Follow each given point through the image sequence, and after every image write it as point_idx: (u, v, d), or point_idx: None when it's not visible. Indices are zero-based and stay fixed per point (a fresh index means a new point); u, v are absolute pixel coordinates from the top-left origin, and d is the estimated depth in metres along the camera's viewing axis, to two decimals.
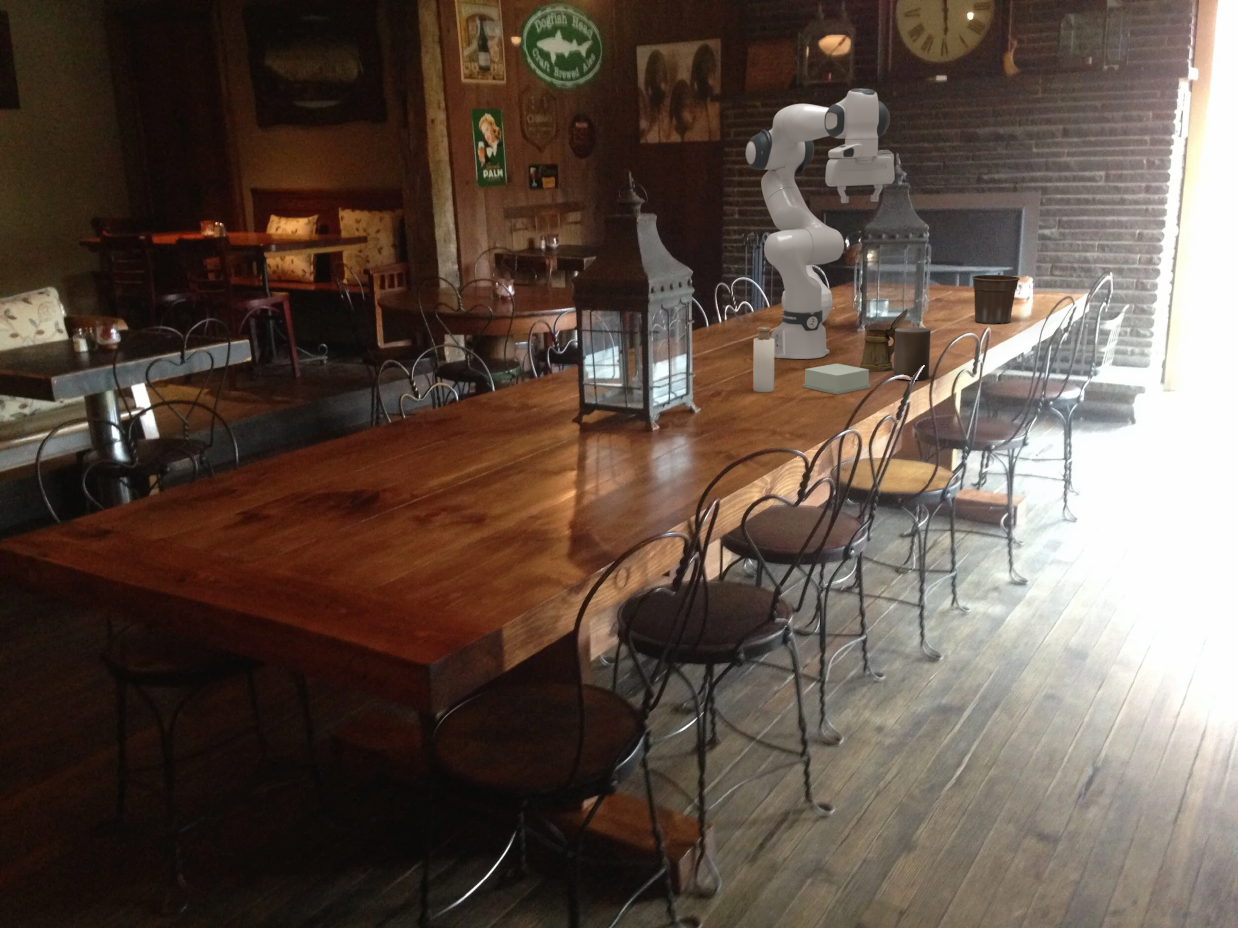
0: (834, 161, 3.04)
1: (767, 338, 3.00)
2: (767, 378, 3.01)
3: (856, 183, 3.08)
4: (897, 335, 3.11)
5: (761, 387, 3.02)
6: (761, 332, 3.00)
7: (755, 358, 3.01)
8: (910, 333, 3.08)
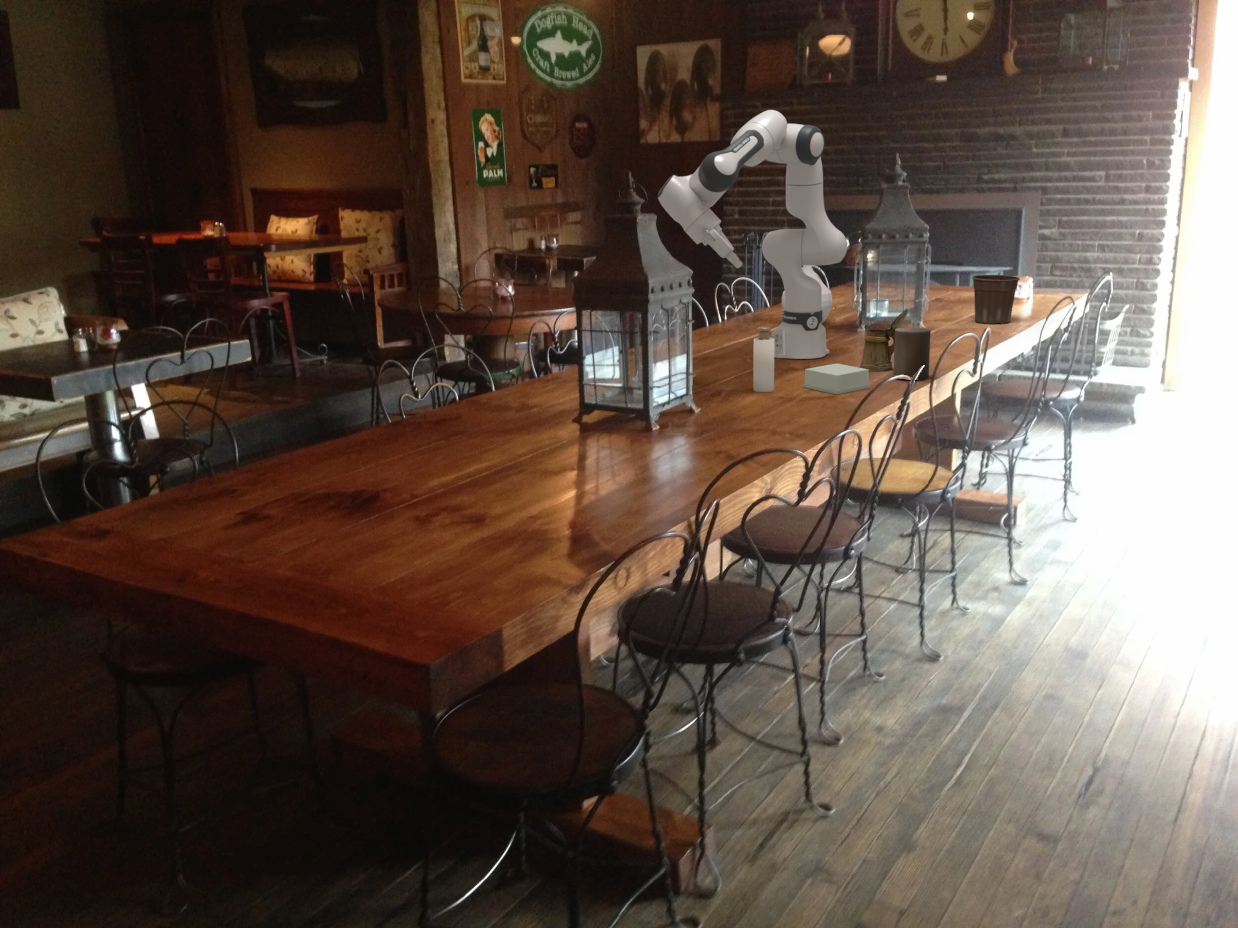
0: None
1: (767, 338, 3.00)
2: (767, 378, 3.01)
3: None
4: (897, 335, 3.11)
5: (761, 387, 3.02)
6: (761, 332, 3.00)
7: (755, 358, 3.01)
8: (910, 333, 3.08)
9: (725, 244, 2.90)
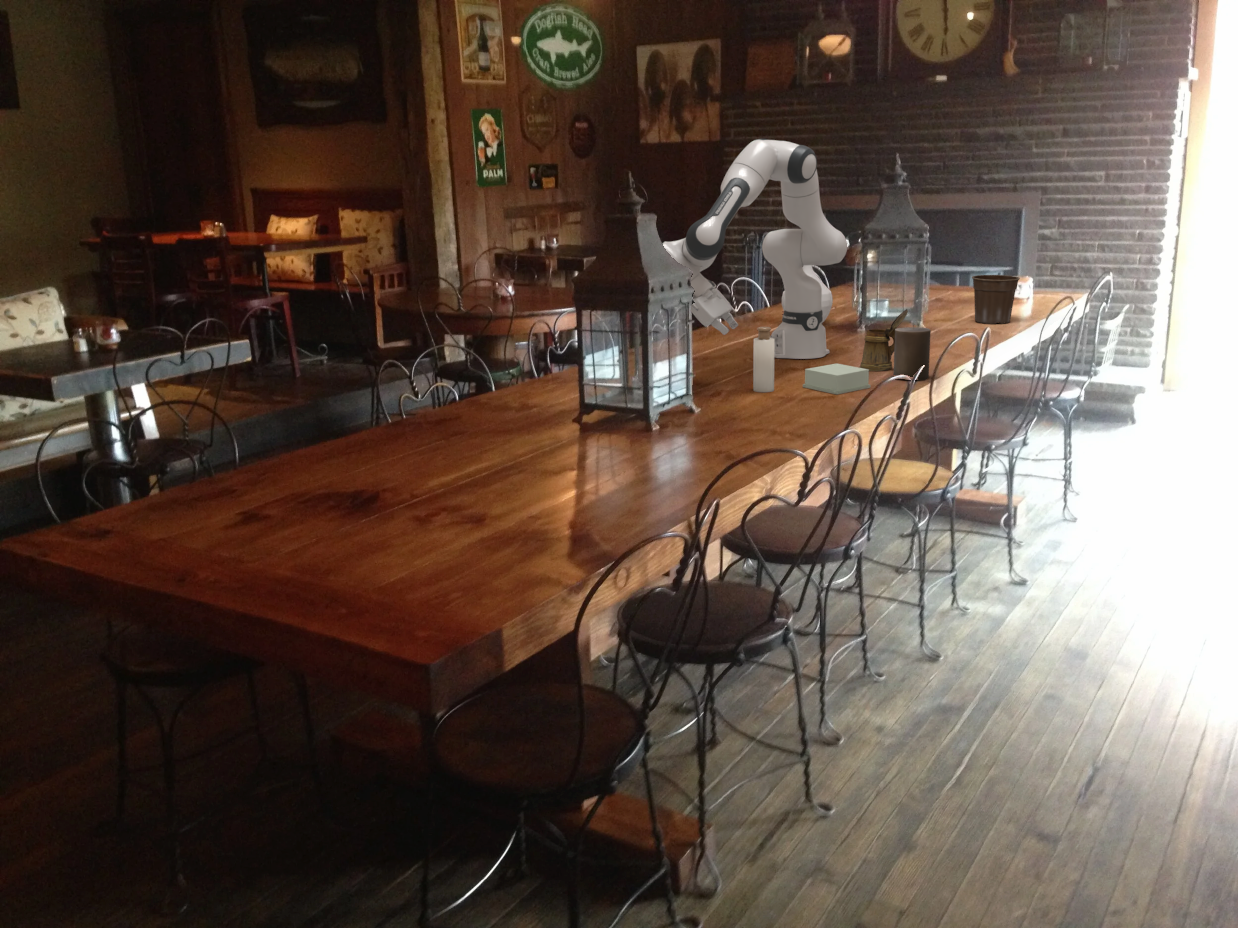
0: None
1: (767, 338, 3.00)
2: (767, 378, 3.01)
3: None
4: (897, 335, 3.11)
5: (761, 387, 3.02)
6: (761, 332, 3.00)
7: (755, 358, 3.01)
8: (910, 333, 3.08)
9: (707, 314, 2.94)
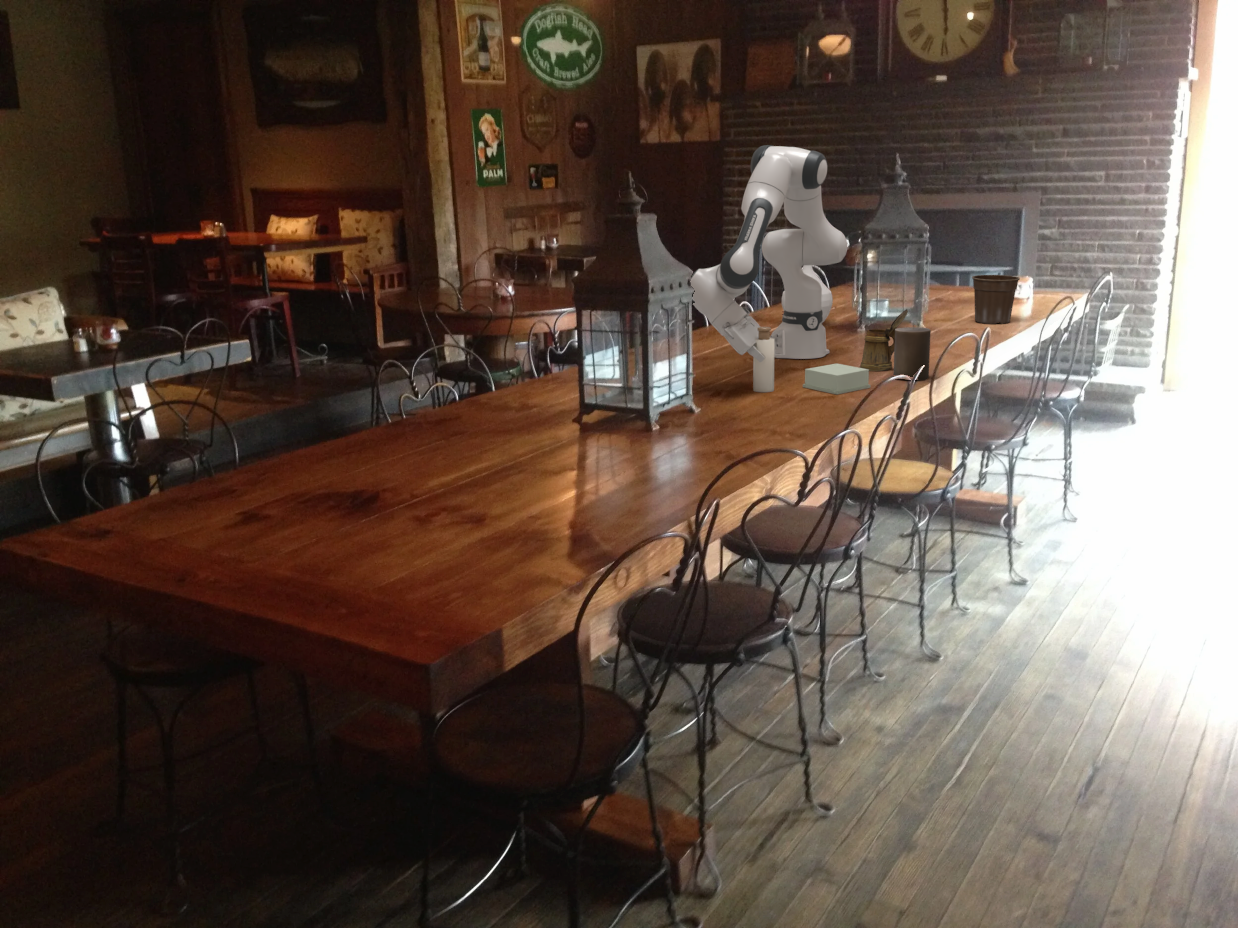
0: None
1: (767, 338, 3.00)
2: (767, 378, 3.01)
3: None
4: (897, 335, 3.11)
5: (761, 387, 3.02)
6: (761, 332, 3.00)
7: (755, 358, 3.01)
8: (910, 333, 3.08)
9: (743, 342, 2.93)
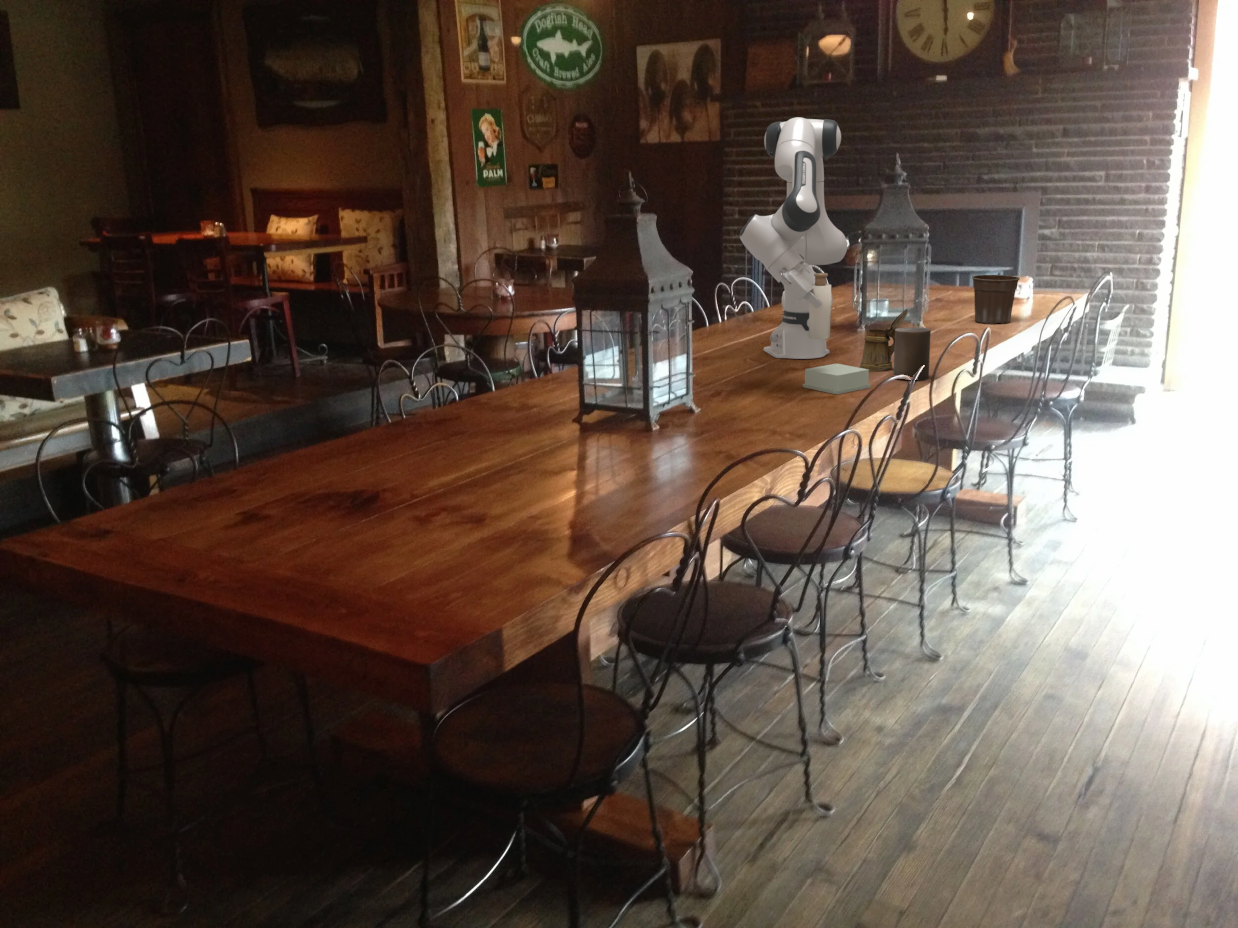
0: None
1: (824, 284, 2.97)
2: (824, 324, 2.98)
3: None
4: (897, 335, 3.11)
5: (817, 334, 2.99)
6: (818, 278, 2.96)
7: (811, 304, 2.98)
8: (910, 333, 3.08)
9: (800, 288, 2.90)
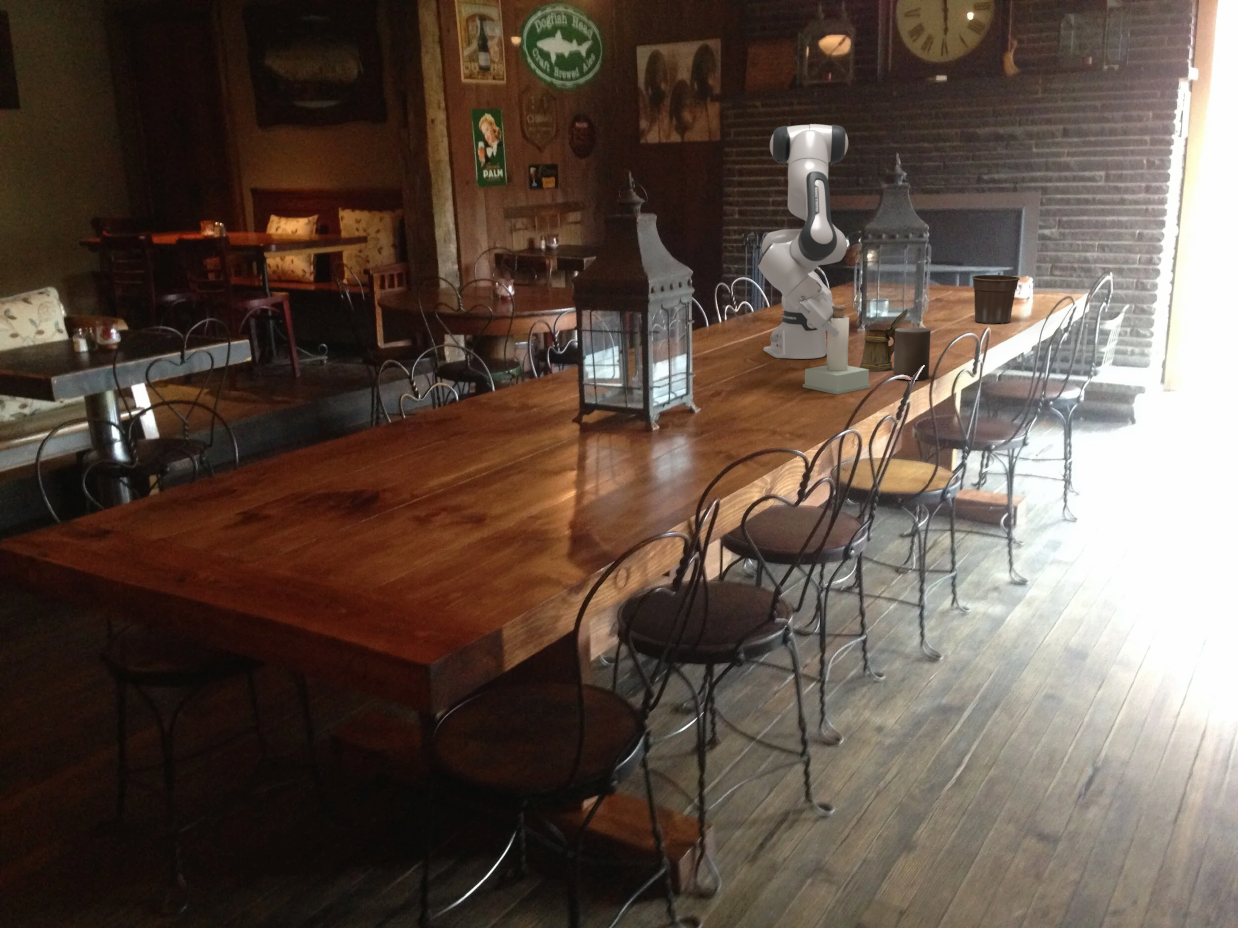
0: None
1: (842, 316, 3.00)
2: (841, 356, 3.01)
3: None
4: (897, 335, 3.11)
5: (835, 366, 3.02)
6: (836, 310, 2.99)
7: (829, 337, 3.01)
8: (910, 333, 3.08)
9: (819, 316, 2.92)
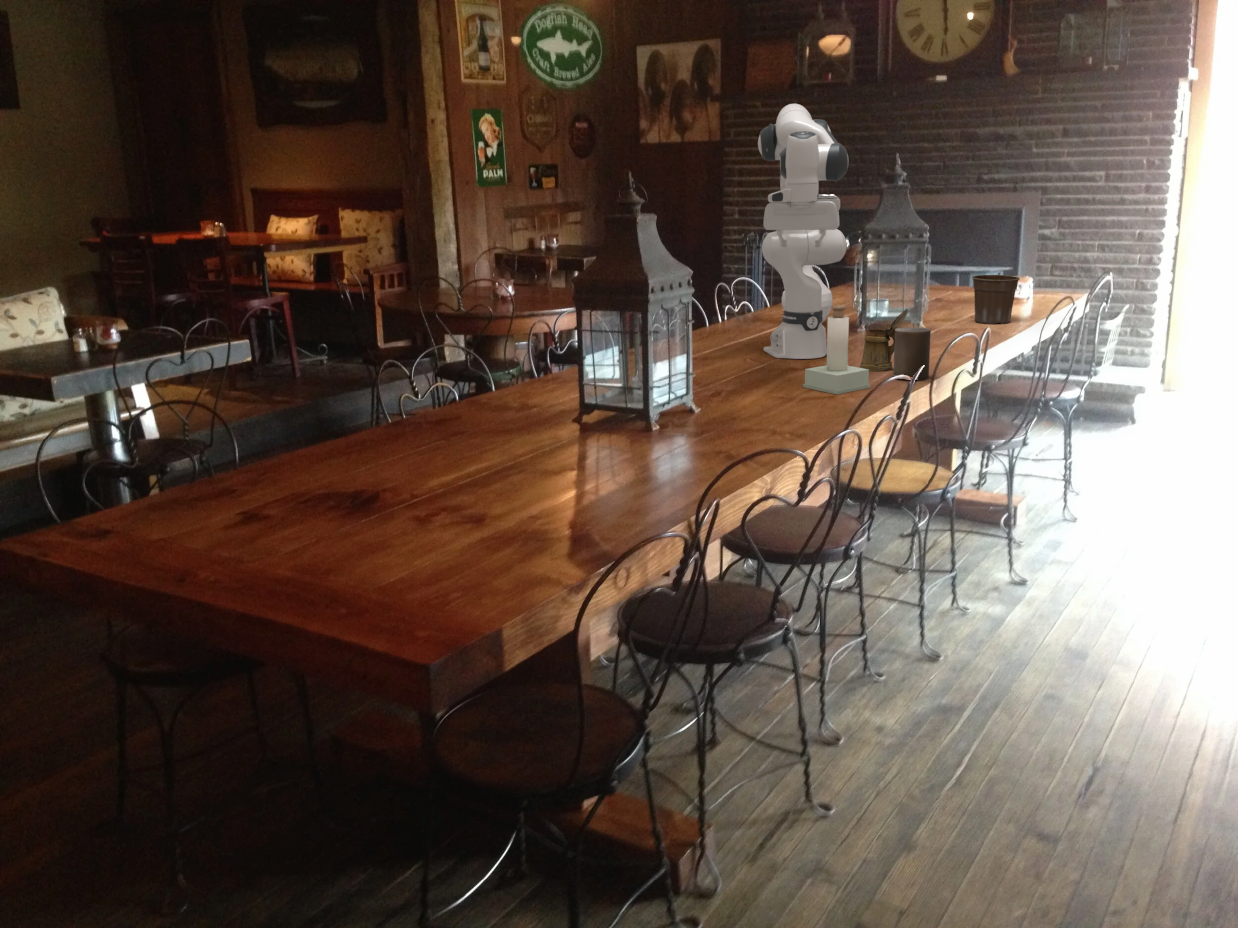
0: (767, 205, 3.04)
1: (842, 316, 3.00)
2: (841, 356, 3.01)
3: (791, 228, 3.03)
4: (897, 335, 3.11)
5: (835, 366, 3.02)
6: (836, 310, 2.99)
7: (829, 337, 3.01)
8: (910, 333, 3.08)
9: None
